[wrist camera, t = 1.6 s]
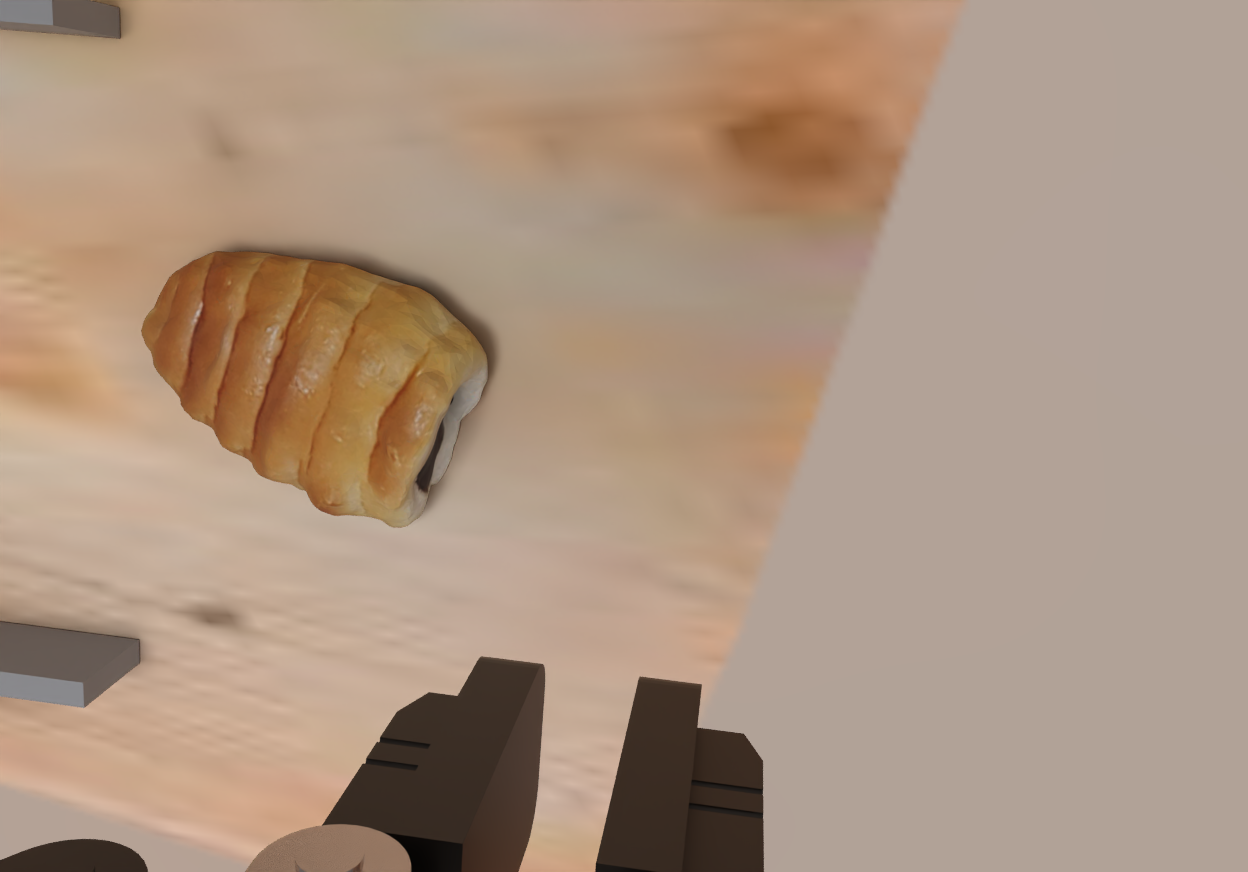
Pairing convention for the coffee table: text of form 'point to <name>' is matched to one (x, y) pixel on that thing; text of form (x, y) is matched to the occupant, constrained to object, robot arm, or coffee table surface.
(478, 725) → the robot arm
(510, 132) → the coffee table surface
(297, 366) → the pastry
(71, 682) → the box
